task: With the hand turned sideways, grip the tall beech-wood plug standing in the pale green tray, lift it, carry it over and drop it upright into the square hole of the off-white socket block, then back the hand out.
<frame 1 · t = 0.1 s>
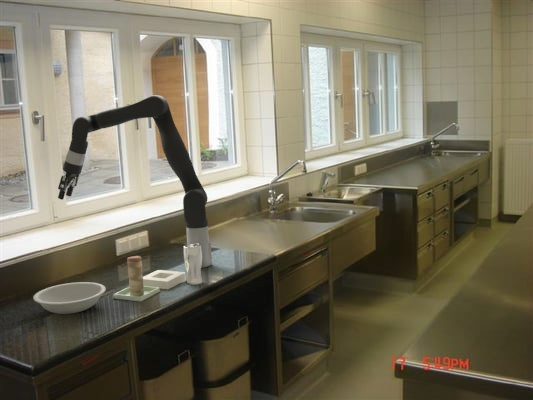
hand: (64, 197, 269), 31 cm above the counter, tool tilted 20°, fingers open, 8 cm apart
soup bowl: (71, 311, 218), on the counter
wooden plug: (137, 294, 231), resting on green tray
socket block: (163, 284, 245), on the counter
green tray: (137, 296, 231), on the counter
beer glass: (194, 283, 245), on the counter
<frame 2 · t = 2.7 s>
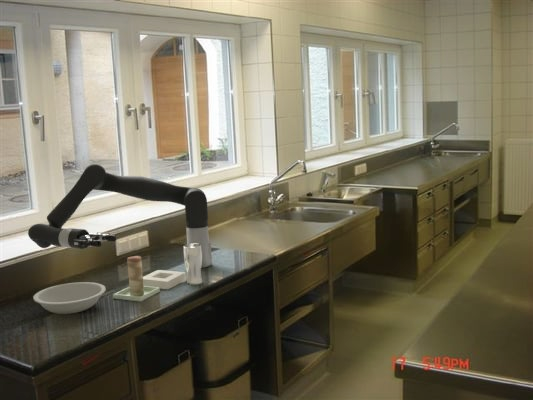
hand: (108, 241, 232), 20 cm above the counter, tool horizontal, fingers open, 8 cm apart
nothing on the counter moved.
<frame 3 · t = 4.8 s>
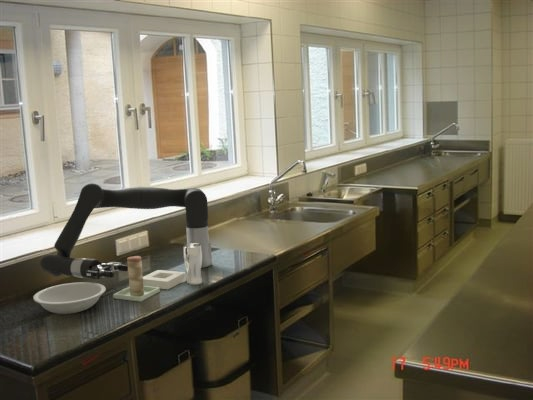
hand: (120, 271, 233), 9 cm above the counter, tool horizontal, fingers open, 8 cm apart
nothing on the counter moved.
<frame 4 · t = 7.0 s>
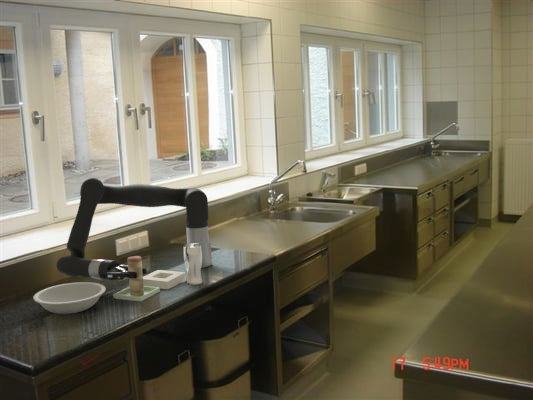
hand: (141, 273, 229), 9 cm above the counter, tool horizontal, fingers closed on wooden plug, 5 cm apart
wooden plug: (137, 294, 231), point 1 cm above the counter, touching green tray, gripper
everything else where it was.
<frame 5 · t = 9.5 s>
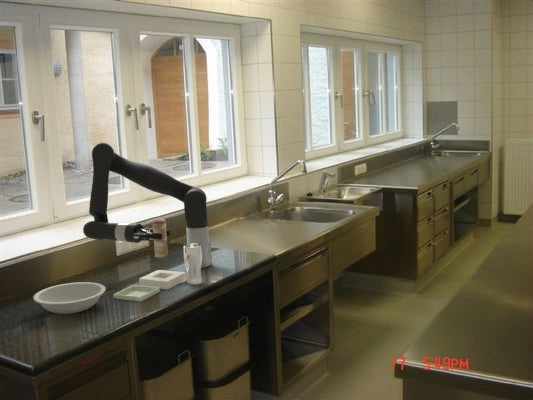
hand: (165, 234, 240), 20 cm above the counter, tool horizontal, fingers closed on wooden plug, 5 cm apart
wooden plug: (161, 255, 243), point 11 cm above the counter, touching gripper
everything else where it was.
when the fingers open (10 cm above the counter, at t = 11.9 s): wooden plug drops 1 cm, resting in socket block.
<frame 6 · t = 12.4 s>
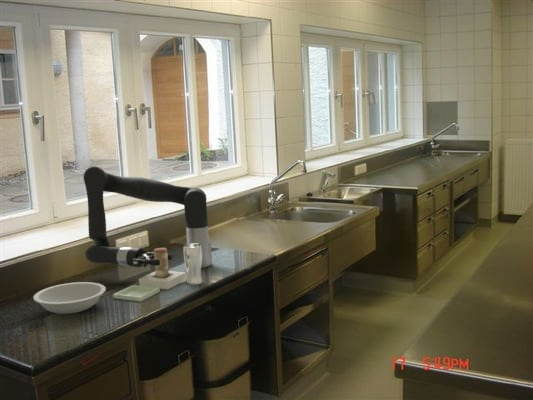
hand: (165, 259, 242), 10 cm above the counter, tool horizontal, fingers open, 8 cm apart
wooden plug: (162, 284, 245), resting in socket block
everything else where it was.
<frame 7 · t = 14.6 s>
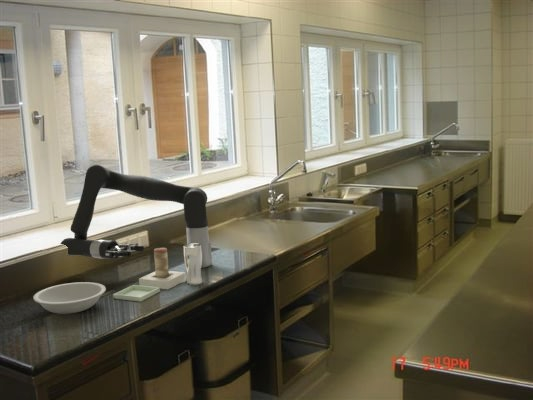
hand: (137, 251, 247), 12 cm above the counter, tool horizontal, fingers open, 8 cm apart
nothing on the counter moved.
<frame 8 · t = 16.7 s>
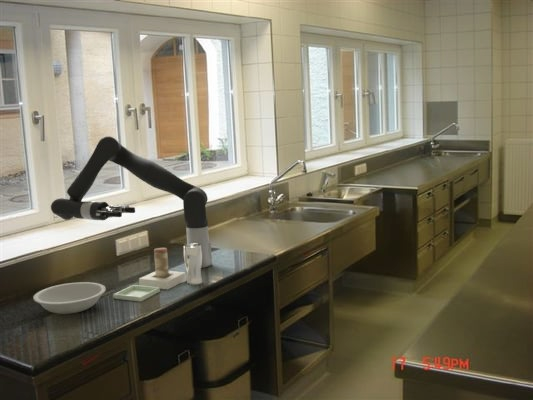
hand: (127, 212, 246), 28 cm above the counter, tool horizontal, fingers open, 8 cm apart
nothing on the counter moved.
at the end: wooden plug 0.1 cm off-centre on the socket block, point 0.0 cm above the socket block's base; wooden plug tilted 0°; the gripper is holding nothing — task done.
